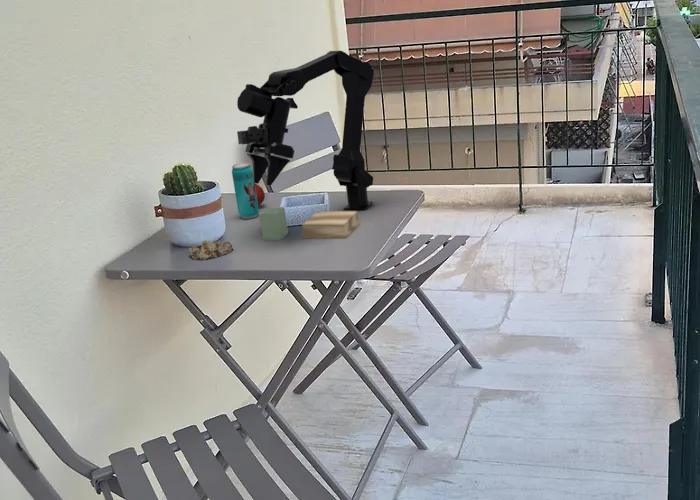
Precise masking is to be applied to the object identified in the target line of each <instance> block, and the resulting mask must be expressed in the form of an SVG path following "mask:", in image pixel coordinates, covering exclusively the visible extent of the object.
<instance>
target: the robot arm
mask: <svg viewBox="0 0 700 500" xmlns="http://www.w3.org/2000/svg"><path fill="white" fill-rule="evenodd" d="M331 71H334V73H336V75H338V76H340V77H341V84H342V88H343V90H344V92H345V95H346V98H345V110H344V111H345V112H344V122H343V123H344V124H343V134H342V143H341V144H342V145H341V150H340V151H339V153H338V154H333V157H332V158H333V160H332V161H333V164H332V167H331V170H332V171H333V176H334V177H335V178H336V180H337V182H338V184H339V186H340V187H342V186H343V187H345V190H346V198H347V199H346V200H347V205H345V207H344V208H343V211H358V210H362V211H363V210H367V209H368V208H369V207H371V206H372V204H373V201H372V200H371V201H369V195H368V188H369V187H371V186H373V182H374V176H372V175H371V174H370V173H369V172H368V171H367V170H366V168H365V167H366V165H365V164H366V163H365V159H364V156H363V154H362V152H361V146H362V145H361V144H362V133H363V122H364V112H365V111H364V109H365V100H366V99H365V98H366V96H367V94H368V92H369V91H370V89H372V86H373V85H372V84H373V80H374V76H375V75H374V73H375V72H374V68H373V66H372V65H371V64H370V63H369V62H367V61H362V60H360V58H359V59H358V58H356V57H354V56H352V55H349V54H348V53H346V52H344V51H343V50H330V51H328V52H326V54H323V55H321V56H319V57H317V58H314V59H313V60H310V61H308V62H306V63H303V64H302V65H300V66H297V67H294V68H288V69H282V70H278V71H277V70H276V71H273V72H271V73H270V74H269V75H268V79H267V81H265V83H263V84H262V86H260V87H259V86H257V85H255V84H251V83H247V84H246V85H245V88H244V89H242V91H241V92H240V94H239V96H238V97H237V102H236V103H237V104H236V105H237V109H238V110H239V112H241V113H245V114H248V115H251V116H255V117H258V118H263V117H264V118H263V121H262V122H261V123H260V124H258V126H257V125H252V126H247V130H237V133H236V134H237V140H238V141H237V142H238V145H246V146H245V151H244V152H246V155H247V156H248V158H249V159H250V160H251V162H252V169H253V176H254V183H255V184H257V185H259V183H260V181H261V179H262V178H263V176H264V174H265V172H266V185H267V186H272V185H273V184H274V183H275V181H276V179H277V178H278V177H279V175H280V174H281V172H282V171H283V170H284V168H285V167H286V166H287V165H288V164H289V163H290V162H291V159H294V154H295V149H294V147H293V146H292V145H288V144H284V143H283V142H284V140H285V139H284V138H285V134H288V132H289V128H287V126H288V125H287V124H288V120H289V114H290V110H291V109H293V110H294V109H298V107H299V106H298V105H297V103H296V101H294V98H293V96H294V95H296V94H297V93H298V92H300V91H301V90H303V89H304V87H305V86H306V84H307V83H309V82H310V81H312V80H315V79H317V78H319V77H321V76H324V75H325V74H327V73H329V72H331ZM284 96H285V97H286V96H287V98H284ZM289 96H290V97H289ZM291 96H292V97H291ZM273 97H274V98H273Z"/></svg>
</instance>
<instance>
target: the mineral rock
mask: <svg viewBox="0 0 700 500" xmlns="http://www.w3.org/2000/svg"><path fill="white" fill-rule="evenodd" d="M188 250H189V256H190V257H191V258H192V259H193V260H198V261H200V260H201V261H206V259H207V260H209V259H215V258H218V257H222V256H225V255H228V254H229V253H232V251H233V250H234V247H233V245H232V244H231V242H230V241H223V242H221V241H212V242H210V241H208V240H203V241H202V244H198V245H197V244H196V245H193V246H192V247H189V248H188Z"/></svg>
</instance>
